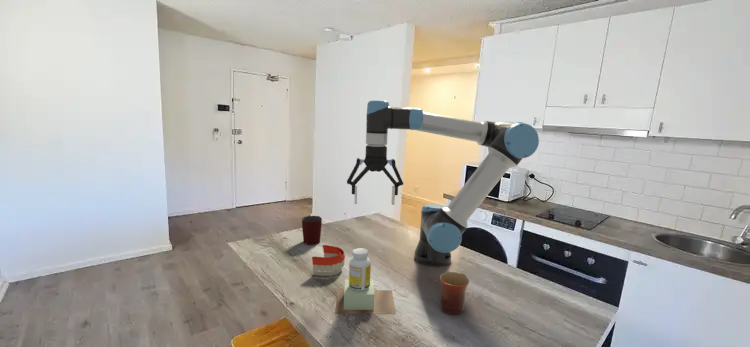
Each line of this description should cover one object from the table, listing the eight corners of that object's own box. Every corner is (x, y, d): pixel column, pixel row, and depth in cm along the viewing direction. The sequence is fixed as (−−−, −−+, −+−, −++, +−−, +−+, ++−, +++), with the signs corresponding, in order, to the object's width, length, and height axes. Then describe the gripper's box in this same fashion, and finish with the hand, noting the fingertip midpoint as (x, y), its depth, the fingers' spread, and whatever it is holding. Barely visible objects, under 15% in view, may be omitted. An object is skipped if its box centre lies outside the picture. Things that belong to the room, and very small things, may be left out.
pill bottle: (369, 281, 105) (371, 247, 103) (370, 292, 98) (371, 255, 96) (349, 280, 105) (350, 246, 102) (348, 291, 98) (349, 255, 96)
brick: (372, 293, 107) (373, 279, 106) (373, 309, 98) (374, 294, 97) (344, 293, 106) (345, 279, 106) (343, 309, 98) (344, 294, 97)
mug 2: (458, 321, 96) (461, 289, 94) (432, 309, 101) (434, 278, 99) (475, 304, 105) (478, 274, 103) (450, 294, 110) (452, 265, 109)
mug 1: (311, 234, 159) (311, 213, 157) (327, 237, 157) (328, 215, 155) (298, 243, 148) (298, 220, 146) (316, 246, 145) (316, 223, 143)
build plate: (391, 293, 110) (391, 290, 109) (396, 317, 97) (396, 313, 97) (337, 293, 108) (337, 290, 108) (334, 317, 96) (334, 313, 96)
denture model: (338, 282, 116) (339, 261, 114) (311, 278, 117) (311, 258, 116) (348, 266, 128) (348, 247, 126) (323, 263, 130) (323, 244, 128)
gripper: (409, 145, 120) (406, 201, 124) (341, 143, 119) (340, 199, 123) (413, 147, 113) (409, 206, 117) (340, 145, 111) (339, 205, 115)
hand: (374, 203), depth 120 cm, fingers open, 13 cm apart
